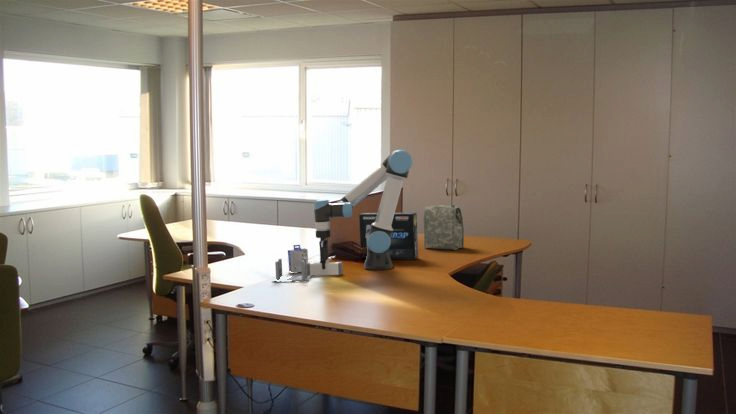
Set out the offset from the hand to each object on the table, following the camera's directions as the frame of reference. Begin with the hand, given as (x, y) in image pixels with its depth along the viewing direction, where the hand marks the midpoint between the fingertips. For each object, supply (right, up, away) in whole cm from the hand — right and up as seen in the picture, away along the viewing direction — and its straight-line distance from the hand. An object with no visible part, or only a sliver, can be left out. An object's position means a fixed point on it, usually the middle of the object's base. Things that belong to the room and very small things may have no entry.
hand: (325, 273), depth 355 cm
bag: (+70, +9, +74) cm, 102 cm away
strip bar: (0, 0, 0) cm, 0 cm away
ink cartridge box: (-15, 0, +9) cm, 17 cm away
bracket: (-16, -2, -11) cm, 19 cm away
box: (+35, +5, +43) cm, 55 cm away
